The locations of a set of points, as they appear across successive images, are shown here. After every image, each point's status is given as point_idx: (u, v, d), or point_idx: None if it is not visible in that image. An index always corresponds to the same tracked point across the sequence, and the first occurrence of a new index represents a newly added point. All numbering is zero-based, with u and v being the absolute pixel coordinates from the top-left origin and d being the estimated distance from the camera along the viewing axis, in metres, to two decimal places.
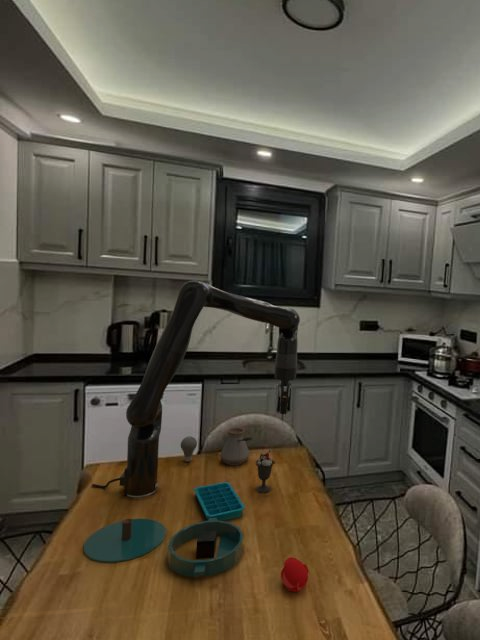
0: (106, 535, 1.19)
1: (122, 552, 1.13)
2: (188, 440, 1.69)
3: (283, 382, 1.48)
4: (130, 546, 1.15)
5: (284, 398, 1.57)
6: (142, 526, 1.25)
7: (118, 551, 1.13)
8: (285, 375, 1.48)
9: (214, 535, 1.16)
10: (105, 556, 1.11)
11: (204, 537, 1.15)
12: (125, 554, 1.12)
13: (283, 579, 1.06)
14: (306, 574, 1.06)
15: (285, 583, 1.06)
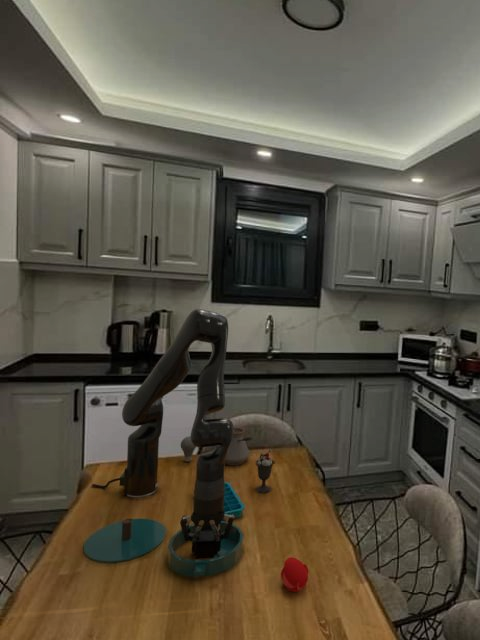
0: (106, 535, 1.19)
1: (122, 552, 1.13)
2: (188, 440, 1.69)
3: None
4: (130, 546, 1.15)
5: (215, 542, 1.16)
6: (142, 526, 1.25)
7: (118, 551, 1.13)
8: None
9: (214, 535, 1.16)
10: (105, 556, 1.11)
11: (204, 537, 1.15)
12: (125, 554, 1.12)
13: (283, 579, 1.06)
14: (306, 574, 1.06)
15: (285, 583, 1.06)
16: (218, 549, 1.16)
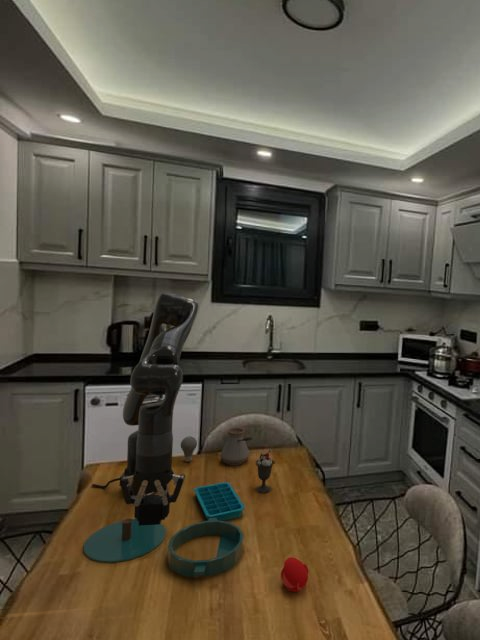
0: (106, 535, 1.19)
1: (122, 552, 1.13)
2: (188, 440, 1.69)
3: None
4: (130, 546, 1.15)
5: None
6: (142, 526, 1.25)
7: (118, 551, 1.13)
8: None
9: None
10: (105, 556, 1.11)
11: (149, 500, 1.00)
12: (125, 554, 1.12)
13: (283, 579, 1.06)
14: (306, 574, 1.06)
15: (285, 583, 1.06)
16: (165, 514, 1.01)
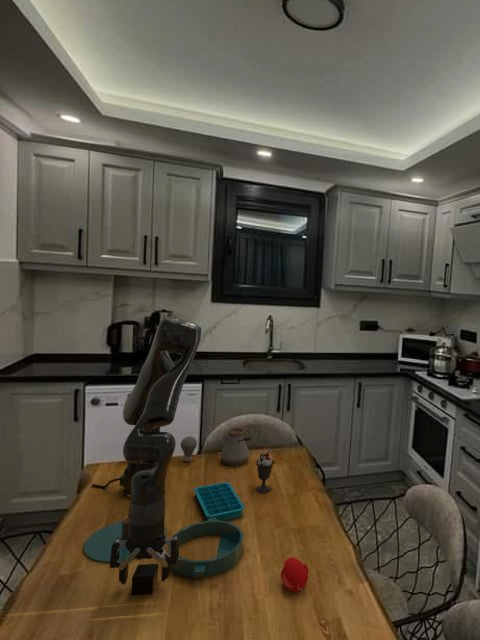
0: (106, 535, 1.19)
1: (122, 552, 1.13)
2: (188, 440, 1.69)
3: None
4: None
5: None
6: None
7: None
8: None
9: (154, 569, 1.02)
10: (105, 556, 1.11)
11: (142, 572, 1.01)
12: (125, 554, 1.12)
13: (283, 579, 1.06)
14: (306, 574, 1.06)
15: (285, 583, 1.06)
16: (166, 576, 1.02)
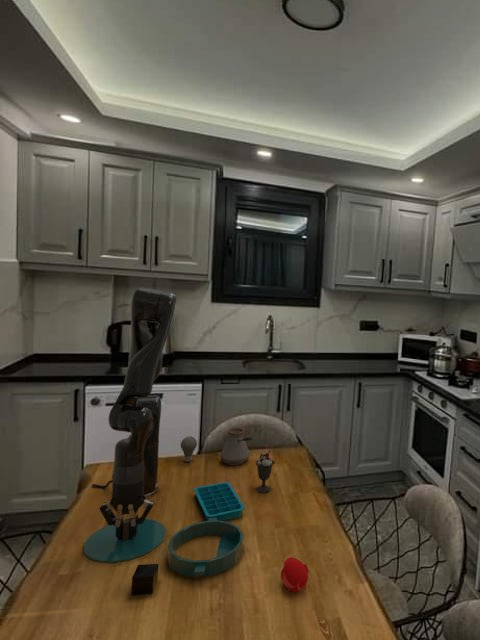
0: (106, 535, 1.19)
1: (122, 552, 1.13)
2: (188, 440, 1.69)
3: None
4: (130, 546, 1.15)
5: None
6: (142, 526, 1.25)
7: (118, 551, 1.13)
8: None
9: (154, 569, 1.02)
10: (105, 556, 1.11)
11: (142, 572, 1.01)
12: (125, 554, 1.12)
13: (283, 579, 1.06)
14: (306, 574, 1.06)
15: (285, 583, 1.06)
16: (134, 534, 1.19)
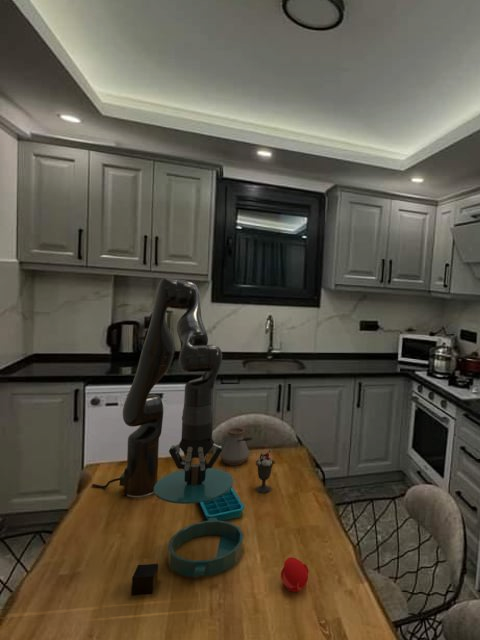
0: (173, 480, 1.15)
1: (194, 495, 1.09)
2: None
3: None
4: (201, 490, 1.11)
5: (199, 472, 1.15)
6: (208, 473, 1.21)
7: (190, 494, 1.09)
8: None
9: (154, 569, 1.02)
10: (178, 498, 1.07)
11: (142, 572, 1.01)
12: (198, 496, 1.08)
13: (283, 579, 1.06)
14: (306, 574, 1.06)
15: (285, 583, 1.06)
16: (203, 479, 1.15)
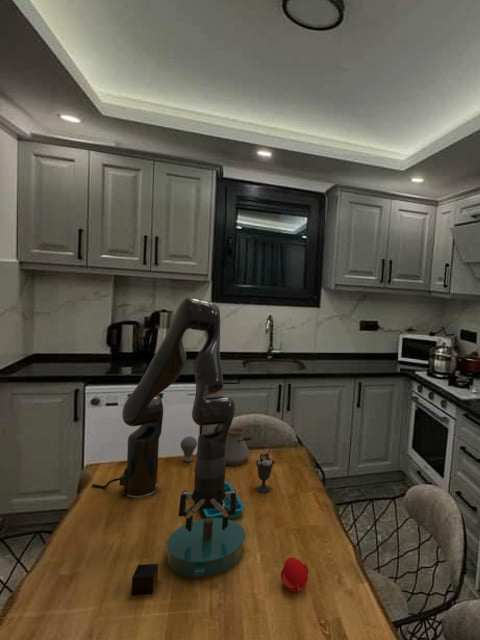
0: (186, 535, 1.16)
1: (207, 552, 1.10)
2: (188, 440, 1.69)
3: None
4: (213, 546, 1.12)
5: None
6: (219, 526, 1.22)
7: (203, 551, 1.10)
8: None
9: (154, 569, 1.02)
10: (191, 556, 1.08)
11: (142, 572, 1.01)
12: (211, 554, 1.09)
13: (283, 579, 1.06)
14: (306, 574, 1.06)
15: (285, 583, 1.06)
16: (226, 525, 1.16)
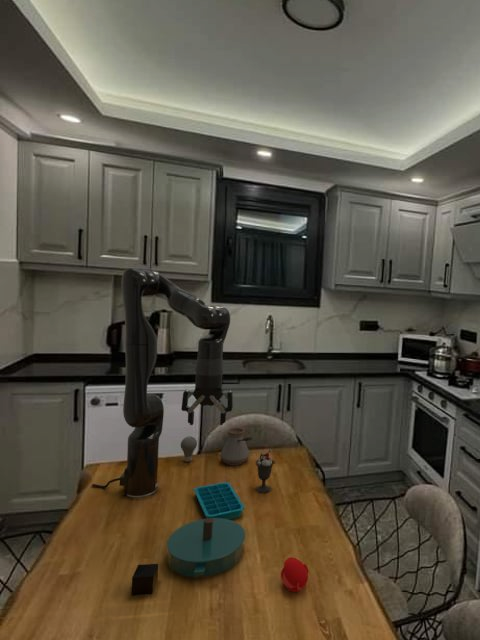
0: (186, 535, 1.16)
1: (207, 552, 1.10)
2: (188, 440, 1.69)
3: None
4: (213, 546, 1.12)
5: None
6: (219, 526, 1.22)
7: (203, 551, 1.10)
8: None
9: (154, 569, 1.02)
10: (191, 556, 1.08)
11: (142, 572, 1.01)
12: (211, 554, 1.09)
13: (283, 579, 1.06)
14: (306, 574, 1.06)
15: (285, 583, 1.06)
16: (223, 421, 1.31)
